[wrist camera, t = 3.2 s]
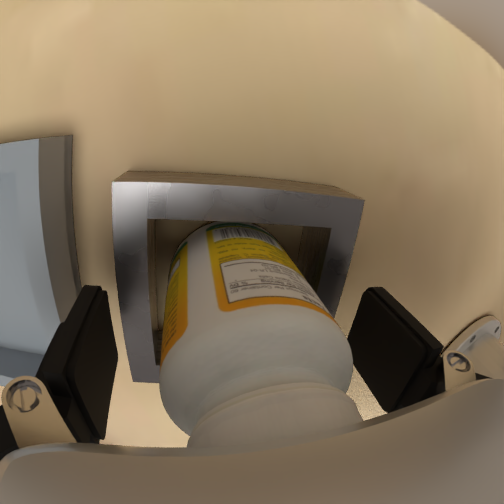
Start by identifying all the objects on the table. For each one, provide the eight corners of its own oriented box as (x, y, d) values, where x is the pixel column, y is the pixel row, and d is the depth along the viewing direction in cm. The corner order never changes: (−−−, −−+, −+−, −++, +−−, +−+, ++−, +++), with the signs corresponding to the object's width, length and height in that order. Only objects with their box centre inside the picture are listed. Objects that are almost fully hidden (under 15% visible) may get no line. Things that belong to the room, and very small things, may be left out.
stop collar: (335, 186, 13) (364, 200, 10) (299, 344, 16) (314, 374, 14) (127, 171, 10) (111, 181, 8) (138, 347, 14) (132, 381, 12)
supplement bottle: (251, 193, 12) (396, 355, 3) (301, 286, 14) (409, 449, 6) (144, 258, 12) (101, 475, 3) (208, 338, 14) (242, 520, 6)
